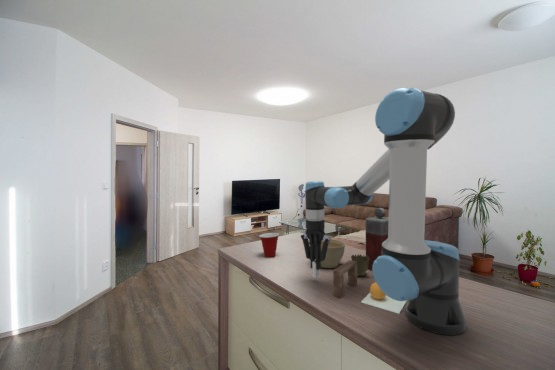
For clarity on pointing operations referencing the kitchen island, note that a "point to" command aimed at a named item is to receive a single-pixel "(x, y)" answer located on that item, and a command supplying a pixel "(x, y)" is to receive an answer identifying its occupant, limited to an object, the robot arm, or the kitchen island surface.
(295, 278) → the kitchen island surface
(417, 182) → the robot arm
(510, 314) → the kitchen island surface
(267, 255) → the plastic cup
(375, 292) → the ball
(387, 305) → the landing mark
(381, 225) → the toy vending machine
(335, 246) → the planter bowl
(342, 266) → the bridge
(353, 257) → the green lump
